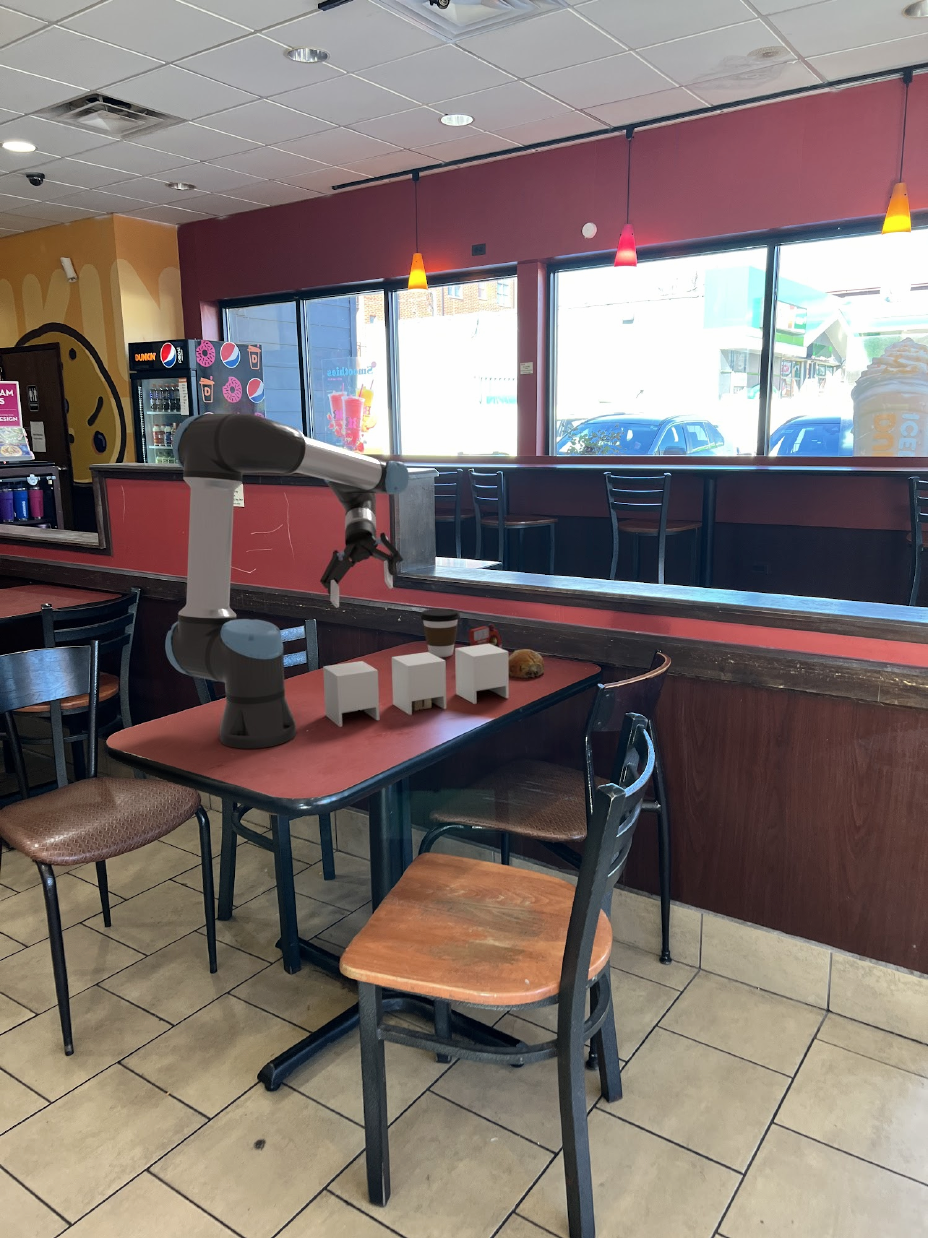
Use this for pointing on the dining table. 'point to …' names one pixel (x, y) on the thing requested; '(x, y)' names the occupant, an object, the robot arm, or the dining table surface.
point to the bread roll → (525, 664)
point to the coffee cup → (440, 630)
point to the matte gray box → (481, 671)
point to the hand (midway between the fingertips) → (361, 594)
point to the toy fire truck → (485, 636)
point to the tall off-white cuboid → (418, 680)
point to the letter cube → (421, 704)
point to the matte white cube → (350, 690)
